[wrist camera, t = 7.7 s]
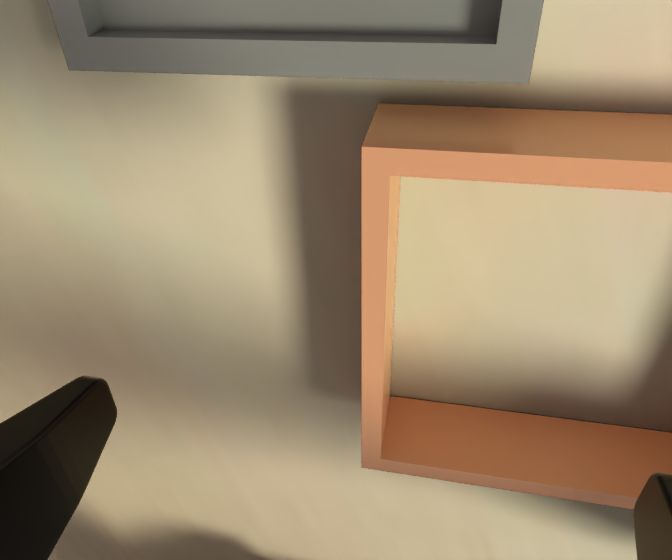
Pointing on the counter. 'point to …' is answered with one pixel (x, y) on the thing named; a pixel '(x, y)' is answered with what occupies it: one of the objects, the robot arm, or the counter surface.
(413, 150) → the terracotta frame
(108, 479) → the counter surface
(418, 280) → the counter surface
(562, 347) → the counter surface
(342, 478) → the counter surface
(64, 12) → the tray
